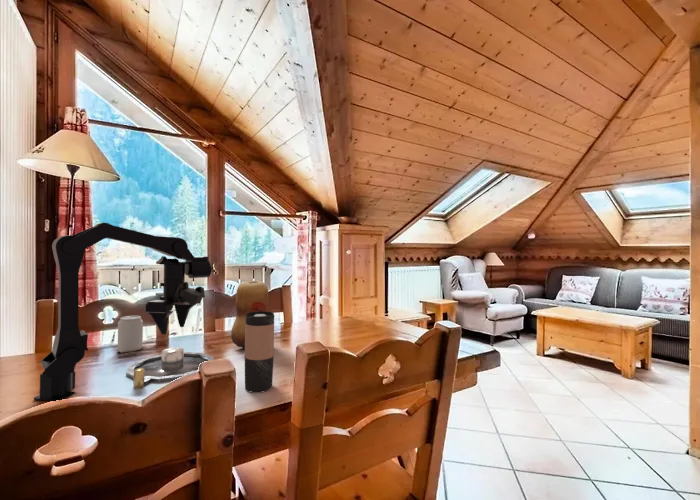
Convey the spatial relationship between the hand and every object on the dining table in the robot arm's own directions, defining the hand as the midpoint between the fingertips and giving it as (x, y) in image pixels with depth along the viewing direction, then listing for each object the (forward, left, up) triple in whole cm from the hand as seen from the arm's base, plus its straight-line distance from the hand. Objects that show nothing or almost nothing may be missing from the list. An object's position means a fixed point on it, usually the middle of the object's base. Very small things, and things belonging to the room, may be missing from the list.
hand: (173, 330), depth 106 cm
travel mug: (-9, -30, -12) cm, 34 cm away
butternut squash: (+25, -15, -12) cm, 32 cm away
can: (+15, +25, -12) cm, 32 cm away
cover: (0, 0, -11) cm, 11 cm away
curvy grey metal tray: (-2, 0, -12) cm, 12 cm away
